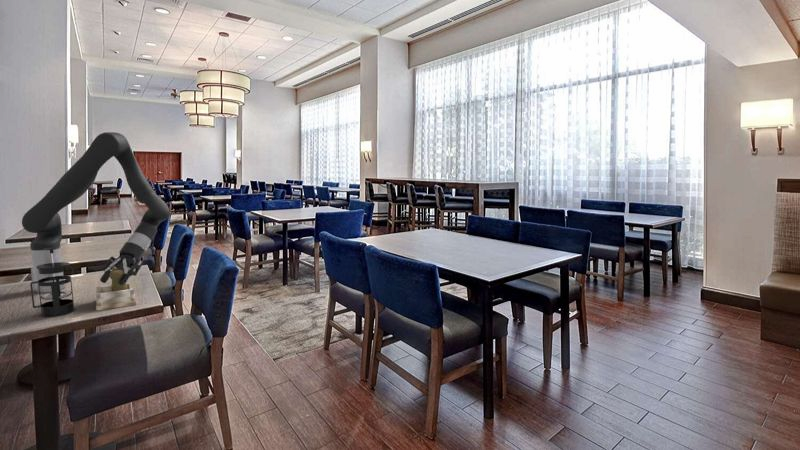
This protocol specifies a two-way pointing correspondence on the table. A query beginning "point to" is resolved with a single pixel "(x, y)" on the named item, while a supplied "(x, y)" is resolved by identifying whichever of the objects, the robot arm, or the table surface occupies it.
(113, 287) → the cork
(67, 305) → the french press
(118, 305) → the cruet holder
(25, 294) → the table surface
